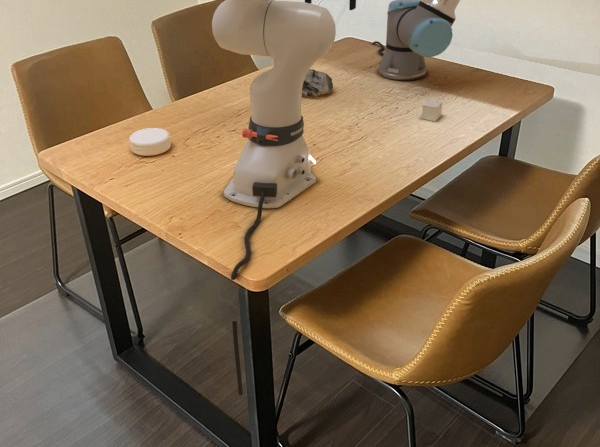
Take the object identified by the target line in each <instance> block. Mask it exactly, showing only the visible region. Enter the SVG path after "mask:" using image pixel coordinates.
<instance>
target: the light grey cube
mask: <svg viewBox="0 0 600 447" xmlns="http://www.w3.org/2000/svg"><path fill="white" fill-rule="evenodd" d="M442 110H443V101H438V100H434V99H433V100H432V99H428V100H426V101H425V103H423V105H422V111H421V119H422V120H427V121H431V122H436V121H438V120H439V119H440V117H442Z"/></svg>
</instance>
